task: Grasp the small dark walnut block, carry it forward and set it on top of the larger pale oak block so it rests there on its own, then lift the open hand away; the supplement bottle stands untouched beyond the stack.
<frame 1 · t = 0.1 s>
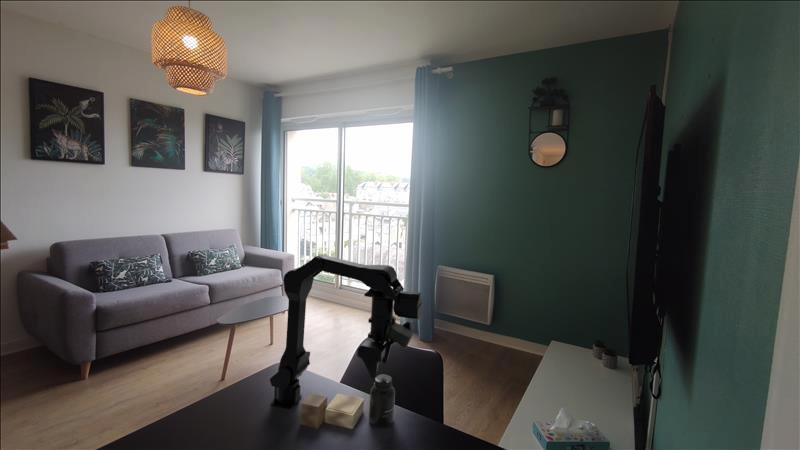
hand: (379, 370, 97), 15 cm above the table, fingers open, 9 cm apart
supplement bottle: (381, 420, 99), on the table
walnut block: (313, 421, 97), on the table
oak block: (344, 417, 99), on the table
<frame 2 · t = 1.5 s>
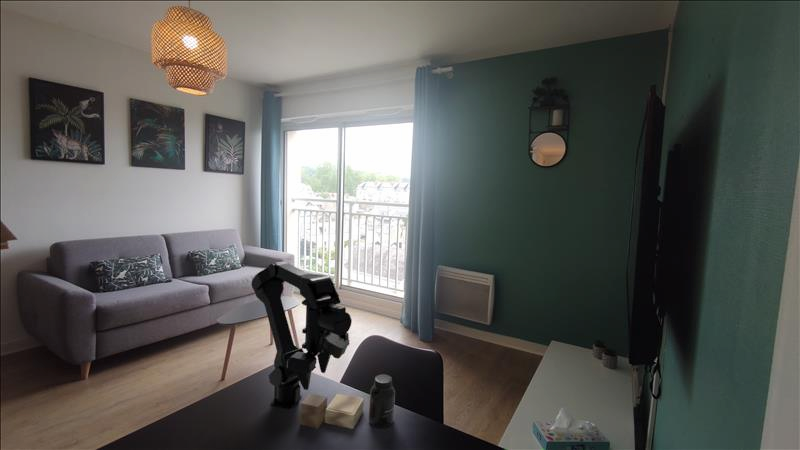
hand: (315, 380, 96), 11 cm above the table, fingers open, 9 cm apart
nothing on the table moved.
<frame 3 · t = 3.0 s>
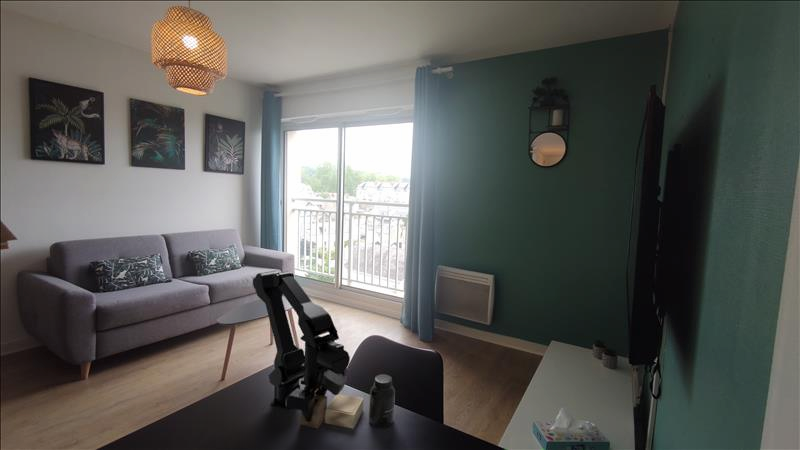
hand: (313, 415, 97), 2 cm above the table, fingers closed on walnut block, 5 cm apart
walnut block: (313, 420, 97), on the table, touching gripper
everything else where it was.
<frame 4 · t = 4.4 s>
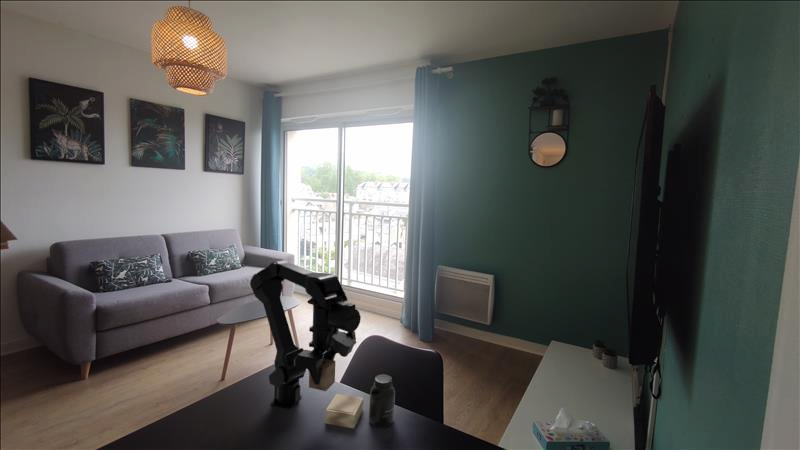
hand: (322, 379, 96), 12 cm above the table, fingers closed on walnut block, 5 cm apart
walnut block: (322, 384, 96), point 10 cm above the table, touching gripper
everything else where it was.
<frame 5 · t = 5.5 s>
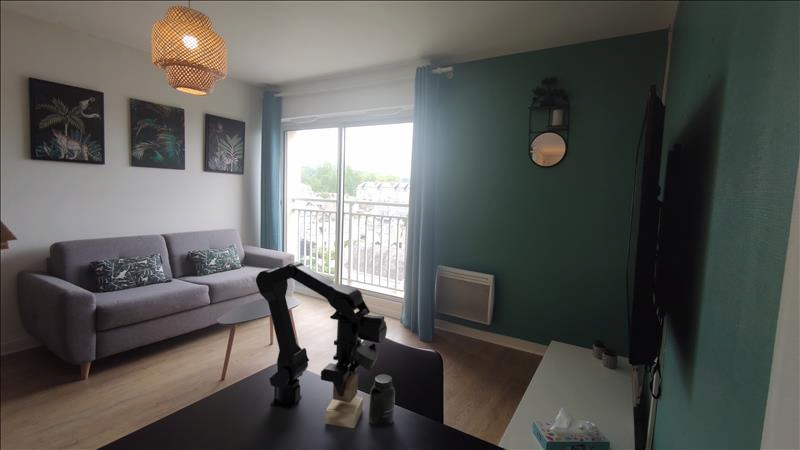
hand: (345, 390, 99), 7 cm above the table, fingers closed on walnut block, 5 cm apart
walnut block: (345, 396, 99), point 6 cm above the table, touching gripper
everything else where it was.
when the fingers open (7 cm above the table, at t = 6.0 s): walnut block drops 1 cm, point 4 cm above the table.
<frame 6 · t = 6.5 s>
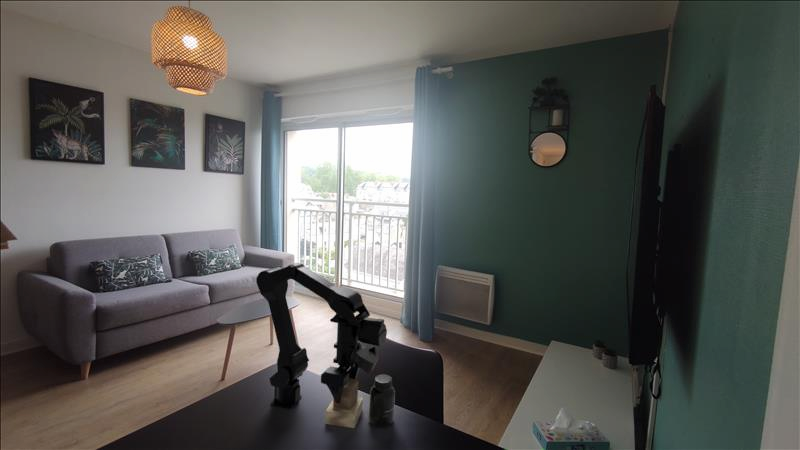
hand: (345, 393, 99), 7 cm above the table, fingers open, 9 cm apart
walnut block: (345, 403, 99), point 4 cm above the table
everything else where it was.
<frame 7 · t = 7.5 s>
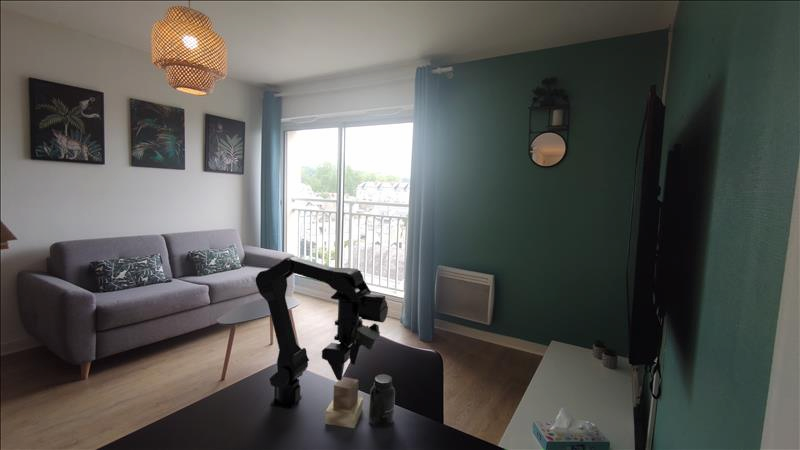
hand: (346, 371, 98), 13 cm above the table, fingers open, 9 cm apart
walnut block: (345, 403, 99), point 4 cm above the table, touching oak block
oak block: (344, 417, 99), on the table, touching walnut block
everything else where it was.
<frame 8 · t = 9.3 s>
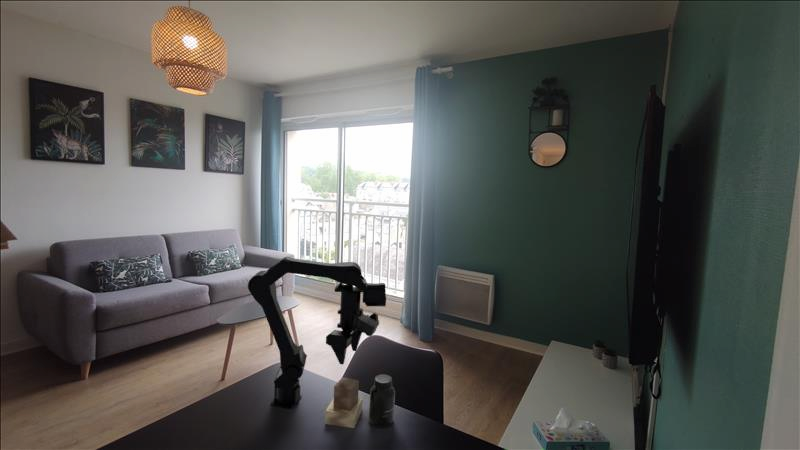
hand: (348, 357, 107), 13 cm above the table, fingers open, 9 cm apart
walnut block: (345, 404, 99), point 4 cm above the table
oak block: (344, 417, 99), on the table
everything else where it was.
at the end: walnut block 0.3 cm off-centre on the oak block, point 4.2 cm above the oak block's base; walnut block tilted 0°; the gripper is holding nothing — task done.
